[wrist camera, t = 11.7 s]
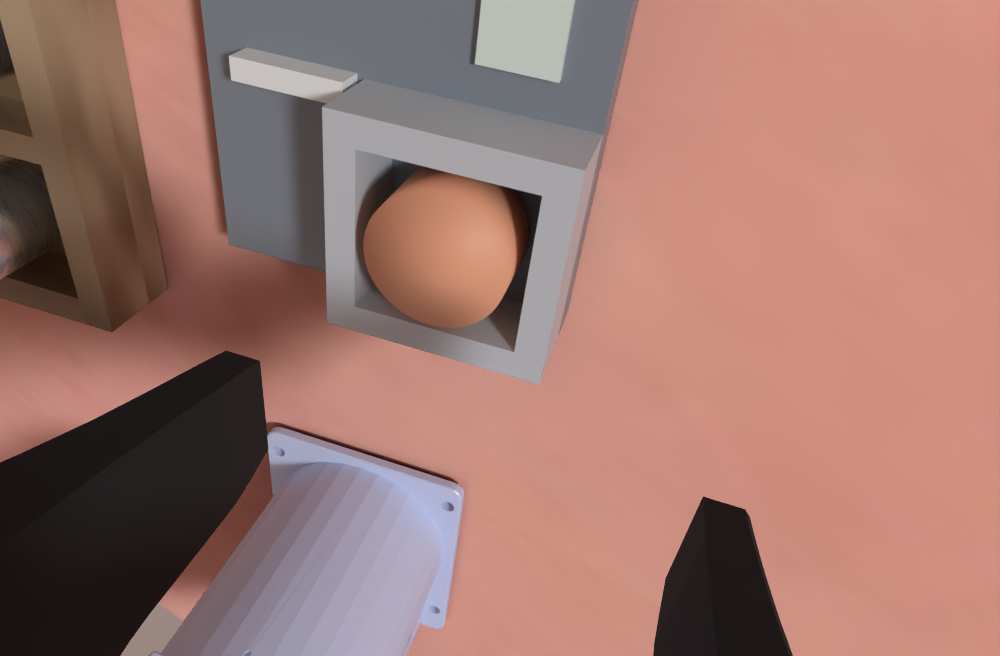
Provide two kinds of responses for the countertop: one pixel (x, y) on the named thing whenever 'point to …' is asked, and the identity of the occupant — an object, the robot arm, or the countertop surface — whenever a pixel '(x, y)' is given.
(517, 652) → the countertop surface
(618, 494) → the countertop surface
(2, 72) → the cylinder
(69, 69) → the wooden divided tray
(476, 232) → the button
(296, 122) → the grey board with box
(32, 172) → the cell
